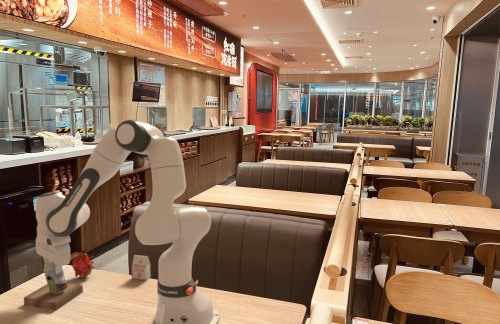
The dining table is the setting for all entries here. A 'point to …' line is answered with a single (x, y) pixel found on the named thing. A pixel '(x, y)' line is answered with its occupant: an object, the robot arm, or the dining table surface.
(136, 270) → the tea bag
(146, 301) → the dining table surface
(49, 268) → the beverage can
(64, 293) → the walnut base
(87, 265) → the dragon fruit
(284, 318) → the dining table surface
